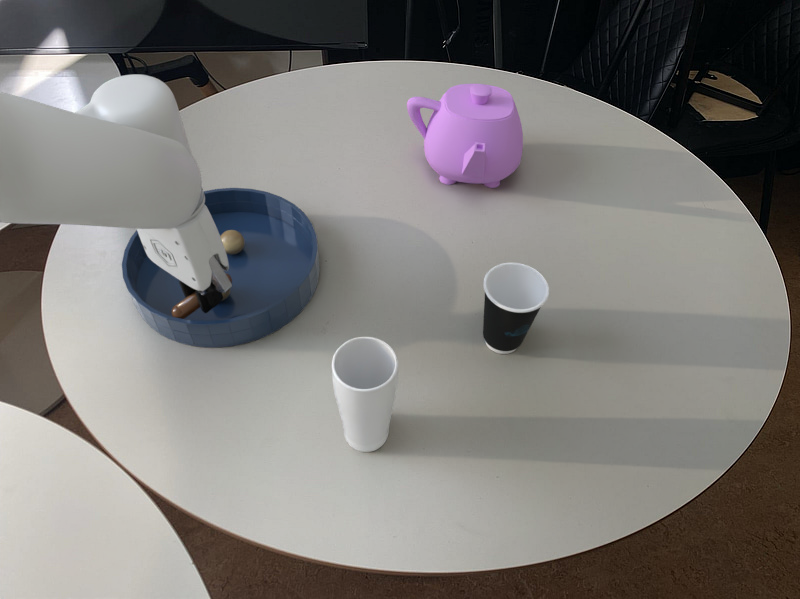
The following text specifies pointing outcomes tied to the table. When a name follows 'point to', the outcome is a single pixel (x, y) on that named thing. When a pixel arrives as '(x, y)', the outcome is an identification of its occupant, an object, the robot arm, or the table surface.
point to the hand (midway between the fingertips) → (205, 299)
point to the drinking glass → (365, 390)
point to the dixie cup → (511, 304)
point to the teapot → (471, 134)
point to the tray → (235, 273)
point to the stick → (188, 305)
